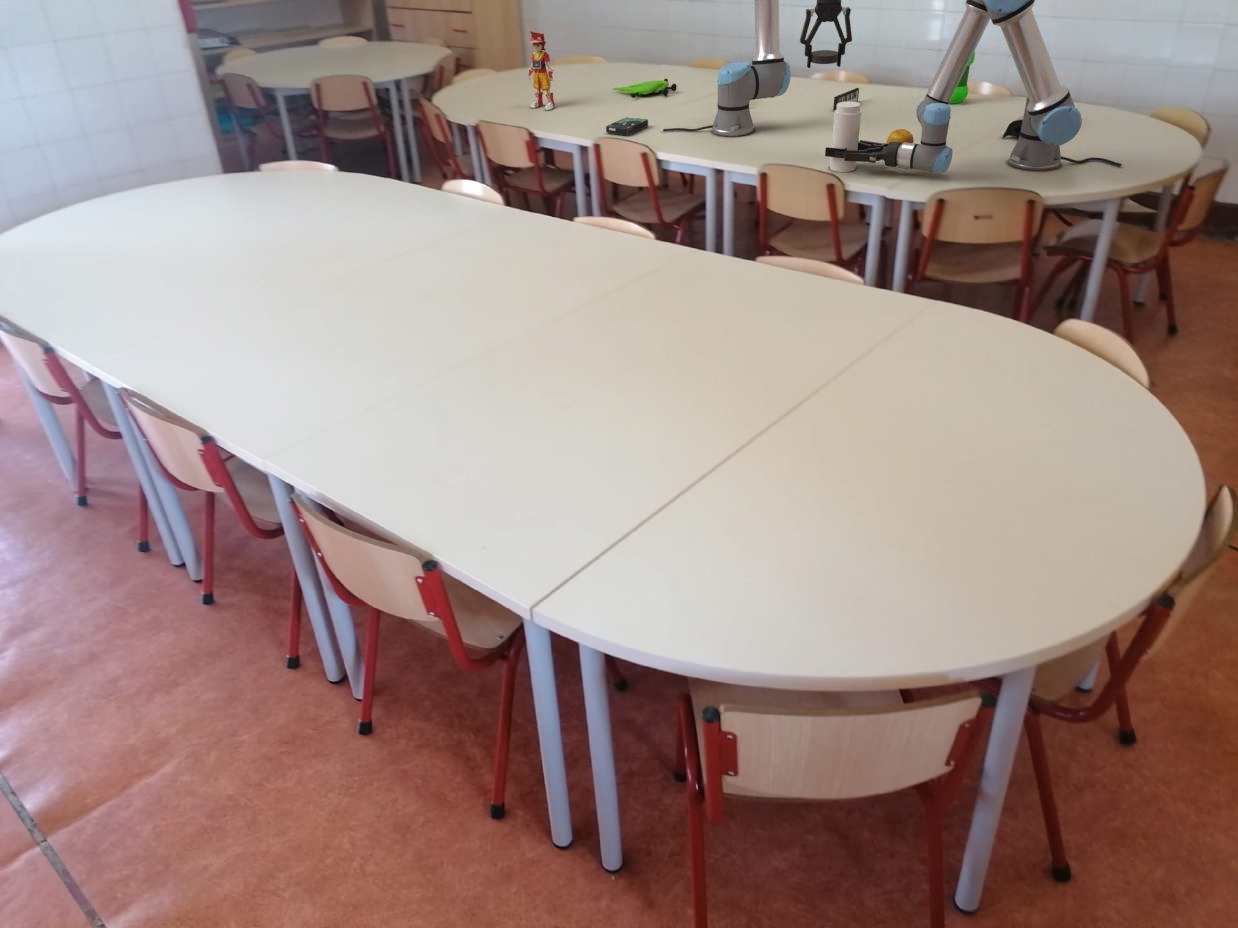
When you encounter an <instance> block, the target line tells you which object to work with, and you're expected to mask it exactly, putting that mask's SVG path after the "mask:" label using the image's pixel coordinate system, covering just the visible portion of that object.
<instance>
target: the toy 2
mask: <svg viewBox="0 0 1238 928" xmlns="http://www.w3.org/2000/svg"><path fill="white" fill-rule="evenodd" d="M669 85H670V83H669V79H668V78H664V79H663V80H649V81H644V82H640V83H634V84H629V85H627V86H621V87H613V88H612V89H613V90H616V91H619V92H623V93H627V94H628V93H629V94H631V95H630V96H631V98H632V99H634V98H636V96H637V95H650V94H652V93H654V94H658V93H662V95H663V96H665V97H667V96H668V95H669V90H671V91H672V92H676V91H677V84H676V83H672V84H671V86H669Z"/></svg>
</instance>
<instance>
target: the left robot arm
mask: <svg viewBox="0 0 1238 928" xmlns="http://www.w3.org/2000/svg"><path fill="white" fill-rule="evenodd" d="M753 2H754V35H755V36H754V37H755V55H754V56H753V58H751V63H750V62H749V61H734V62H730V63H727V64H724V65H723V66H722V67H720V68H719V70H718V75H717V82H716V83H717V111H716V114H715V118H714V120H713V124H711V125H706V126H702V127H697V128H686V127H671V128H663V129H662V132H671V131H672V132H673V131H684V132H698V131H702V130H707V129H711V128H712V133H713V134H715V135H717V136H721V137H741V136H746V135H750V134H752V133H754V127H755V126H754V122H753V118H752V115H751V111H750V101H754V100H761V99H768V98H769V99H770V98H776V97H780V96H783V95H784V94H785V93H786V92H787V90H788V89H789V86H790V84H791V76H792V75H791V74H792V71H791V68H790V64H789V63H788V62H787V61H785V56H784V54H782V53H781V50H780V44H781V43H780V0H754V1H753ZM851 12H852V8H850V7H849V6H847V7H843V6H842V0H816V4H815V7H814V8H806V9H805V19H804V23H803V26H802V30H801V34H800V38H799V43H800V44H801V45H804V56H805V57H807V58H806V59H807V60H806V67H807V68H808V69H811V65H812V62H811V53H812V52H813V45H812V44H811V43H812V42H813V39H814V38H815V36H816V34H817V32H818V30H819V28H820V26H821V25H822V24H823V23H828V22H829V23H833V24H834V27H835V29H836V32H837V35H838V37H839V39H840V42H839V43H838V46H837V52H838V53H839V57H838V62H836V67H838V68H840V67H841V64H842V56H844V55H845V54H846V45H847V44H848V43H852V41H853V36H852V26H851V18H850V17H851ZM841 13H842V15H843V16H844V25H845V26H844V27H845V34H846V37H845V35H844V32H843V30H842V27H841V24H840V21H839V19H838V17H839V16H840V14H841ZM814 14H815V15H816V16H817V18H816V20H815V23H814V24H813V26H812V28H811V29H810V32H809V33H808V30H809V27H810V25H811V19H812V17H813V16H814ZM807 34H808V35H807Z"/></svg>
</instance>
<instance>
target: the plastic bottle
mask: <svg viewBox="0 0 1238 928" xmlns="http://www.w3.org/2000/svg"><path fill="white" fill-rule="evenodd" d="M975 57H976V50H975V51H974V53H973V55H972V57H971V59H970V61H969V63H968V65H967V67H966V69H965V71H964V73H963V75H962V77H961V79H960V81H959V83H958V85H957V88H956V90H955V92H954V94H953V96H952V98H951V100H950V102H949V104H960V103H961V102H963V101H964V100H966V98H967V96H968V95H969V85H968V79H969V73H970V67H971V65H972V64H973V63H974V61H975Z"/></svg>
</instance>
